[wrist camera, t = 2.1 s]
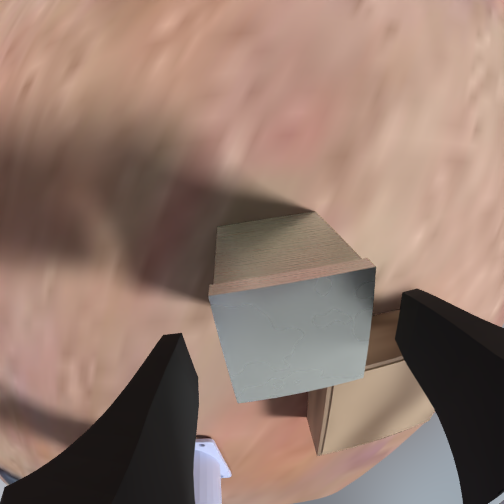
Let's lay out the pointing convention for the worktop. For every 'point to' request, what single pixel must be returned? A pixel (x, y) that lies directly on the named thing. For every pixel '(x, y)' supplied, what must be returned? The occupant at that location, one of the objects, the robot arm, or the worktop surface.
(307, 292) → the tea tin
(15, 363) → the worktop surface
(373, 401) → the tan flat square box
